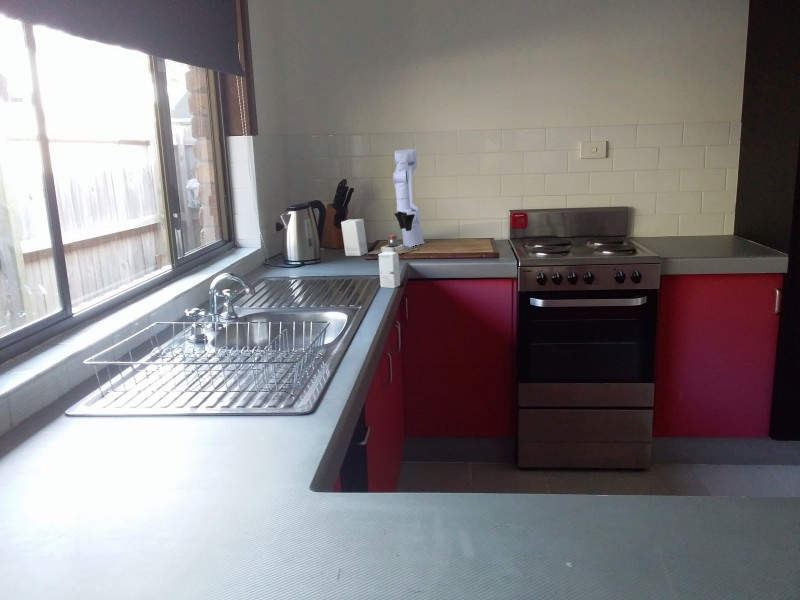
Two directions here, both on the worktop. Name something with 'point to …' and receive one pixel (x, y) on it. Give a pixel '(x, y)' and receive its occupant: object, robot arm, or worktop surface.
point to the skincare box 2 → (389, 269)
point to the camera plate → (392, 248)
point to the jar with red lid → (392, 241)
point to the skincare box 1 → (354, 237)
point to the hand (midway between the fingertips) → (405, 229)
